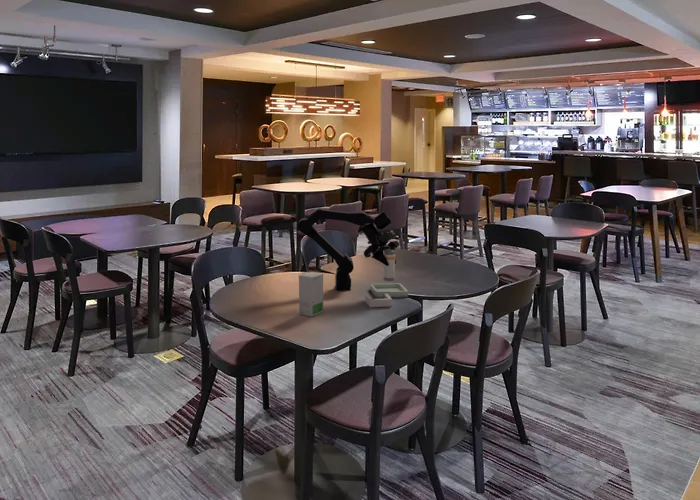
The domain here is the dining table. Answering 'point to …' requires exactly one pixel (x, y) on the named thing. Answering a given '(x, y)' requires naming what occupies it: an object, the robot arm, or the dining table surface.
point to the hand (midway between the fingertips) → (391, 264)
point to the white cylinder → (391, 267)
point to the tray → (389, 290)
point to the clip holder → (378, 301)
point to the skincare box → (310, 294)
